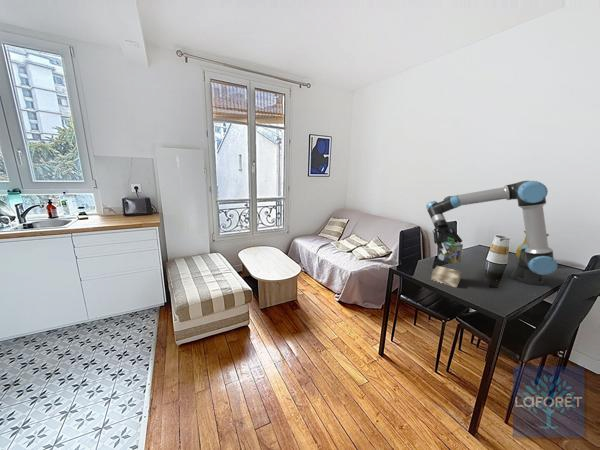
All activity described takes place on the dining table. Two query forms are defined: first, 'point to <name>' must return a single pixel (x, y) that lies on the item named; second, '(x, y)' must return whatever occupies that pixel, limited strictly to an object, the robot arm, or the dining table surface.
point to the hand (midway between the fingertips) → (453, 253)
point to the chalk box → (451, 251)
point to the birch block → (446, 276)
